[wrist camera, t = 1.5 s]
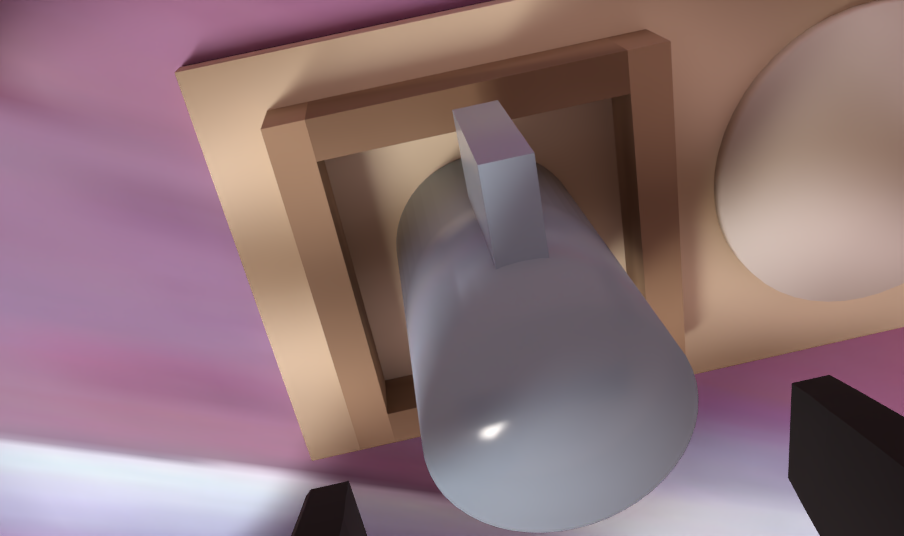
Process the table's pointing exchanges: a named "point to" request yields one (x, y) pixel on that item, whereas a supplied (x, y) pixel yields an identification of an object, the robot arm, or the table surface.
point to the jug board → (569, 174)
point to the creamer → (532, 344)
